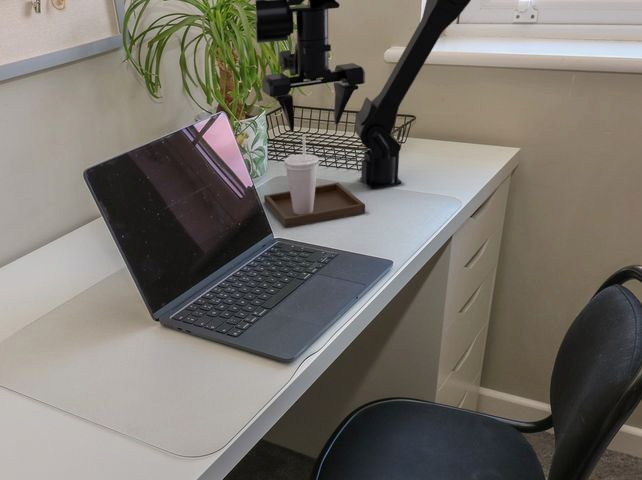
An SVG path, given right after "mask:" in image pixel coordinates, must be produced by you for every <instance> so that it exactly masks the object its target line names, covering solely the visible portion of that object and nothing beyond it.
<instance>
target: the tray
mask: <svg viewBox="0 0 642 480" xmlns="http://www.w3.org/2000/svg"><path fill="white" fill-rule="evenodd" d="M263 198H264V199H263V201H264V206H266V207H267V209H269V211H270V212H271V213H272V214H273V215H274V216H275V218H276V219H277V220H278V221H279V222H280V223H281V224H282V226H283V227H284V228H285V229H288V228H292V227H298V226H303V225H309V224H315V223H321V222H326V221H330V220H337V219H341V218H347V217H354V216H359V215H364V214H366V204H365V203H364V202H362V201H361V200H360V199H359V198H358V197H357V196H355V194H353V193H352V192H350V191H349V190H348V189H347V188H345V186H343V185H342V184H341V183H340V182H334V183H327V184H323V185H316V186H315V196H314V206H313V212H312V213H307V214H301V215H299V214H295V213H294V212H293V206H292V200H291V193H290V190H287V191H281V192H276V193H275V192H274V193H270V194H269V193H268V194H264V195H263Z"/></svg>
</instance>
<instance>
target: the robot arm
mask: <svg viewBox="0 0 642 480" xmlns="http://www.w3.org/2000/svg"><path fill="white" fill-rule="evenodd" d="M305 1H306V0H255V1H254V3H255V18H254V29H255V39H256V44H261V43H262V44H263V43H271V42H283V41H284V42H285V41H288V40H289V37H291V36H292V34H294V29H295V28H294V13H295V19H296V20H295V21H296V22H295V23H296V24H295V25H296V43H295V44H294V53H292V51H291V50H290V49H287V50H281V51H280V52H278V59H279V60H278V62H279V67H280V66H281V69H282V71H289V75H290V76H288V75H286V74H285V73H283V72H282V71H281V72H279V73H272V74H266V75H264V76H263V78H262V80H261V89H262V92H263V93H264V94H266V95H267V96H269V97H271V98H273V99H274V100H275V101H278V103H279V106H280V108H281V109H282V112H283V115H284V117H285V120H286V123H287V126H288V129H289V131H290V132H294V131H295V115H294V97H293V95H292V94H290V92H291V91H292V89H295V88H301V87H308V86H309V87H311V86H316V85H322V84H330V83H333V89H334V109H333V110H334V112H333V119H334V125H339V124H340V122H341V118H342V117H343V115H344V113H345V112H344V111H345V109H346V107H347V104H348V102H349V100H350V99H351V97H352V95H353V93H354V92H355V90H357V91H358V90H359V85H363V84H366V72H365V71H366V70H365V69H364V68H363V66H361V65H359V64H356V63H353V62H351V63H343V64H336V65H335V67H334V70H332V69H330V66H329V61H330V59H329V57H330V56H329V55H330V54H329V52H331V51H332V45H331V44H330V43H329V10H333V9H338V8H340V2H338V1H337V0H307V4H303V3H304V2H305ZM471 1H472V0H426V1H425V5H424V9H423V13H422V17H421V20H420V22H419V23H418V25H417V27H416V29H415V31H414V33H413V34H412V36H411V38H410V40H409V41H408V43H407V45H406V47H405V48H404V50H403V52H402V54H401V55H400V57H399V59H398V61H397V62H396V64H395V66H394V68H393V70H392V71H391V73H390V75H389V77H388V78H387V80H386V82H385V83H384V86H383V87H382V89H381V91H380V92H379V93H378V95H376V96H375V98H373V99H372V100H371V99H370V98H369V97H365V99H364V100H363V103H362V106H361V108H360V110H359V112H357V113H356V114H355V115H354V116H355V118H356V121H355V124H354V129H355V134H356V135H357V136H358V138H359V140H360V142H361V143H362V145H363V146H364V147H365V148H367V149H368V150H366V151H363V159H362V160H361V172H360V173H361V177H359V180H360V182H362V183H364V184H365V185H367V187H369V188H370V189H371V190H372V189H373V190H375V189H381V188H385V187H386V188H387V187H391V186H397V185H401V184H402V180H400V179H399V164H400V151H401V150H402V149H401V148H402V145H401V144H400V142H399V141H398V140H397V139H396V137H395V136H394V135H393V133H392V132H393V130H394V127H395V125H396V120H397V118H398V113H399V109H400V106H401V105H402V102H403V101H404V99H405V97H406V95H407V94H408V92H409V90H410V89H411V87H412V85H413V83H414V81H415V80H416V79H417V76H418V75H419V73H420V71H421V70H422V68H423V66H424V64H425V63H426V61H427V59H428V58H429V56H430V54H431V53H432V51H433V49H434V47H435V46H436V44H437V42H438V40H439V39H440V37H441V35H442V34H443V32H444V31H445V30H446V29H447V28H448V27H450V25H451V24H452V23H454V22H455V21H456V20H457V19H458V17H459V16H460V15H461V14H462V12H463V11H464V10H465V9H466V7H467V6H468V5H469V4H470V2H471ZM301 4H302V5H301ZM281 69H280V70H281Z"/></svg>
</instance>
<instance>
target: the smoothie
mask: <svg viewBox="0 0 642 480" xmlns="http://www.w3.org/2000/svg"><path fill="white" fill-rule="evenodd" d="M301 136H302V137H301V140H302V141H301V142H302V153H299V154H293V155H289V156H288V157H286V158H284V159H283V160H284V161H283V162H284V164H283V167H284V168H285V169H286V176H287V181H288V188H289V191H290V193H291V200H292V206H293V212H294V213H295V214H299V215H301V214H307V213H312V212H313V206H314V196H315V186H317V176H318V166H320V157H318V156H317V155H315V154H311V153H310V154H309V153H307V145H306V142H307V141H306V139H307V138H306V134H305V133H303V134H302V135H301Z"/></svg>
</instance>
